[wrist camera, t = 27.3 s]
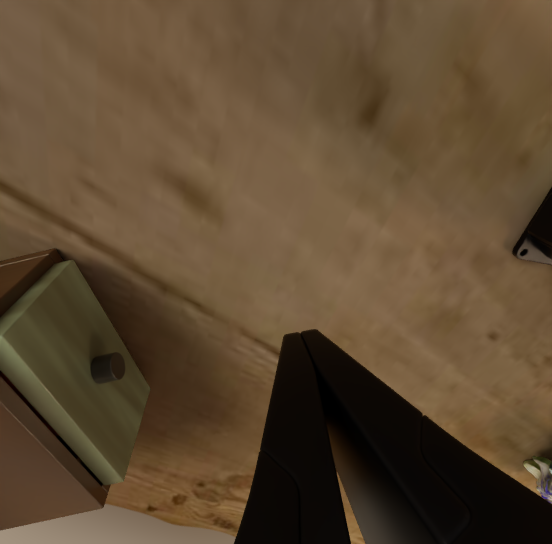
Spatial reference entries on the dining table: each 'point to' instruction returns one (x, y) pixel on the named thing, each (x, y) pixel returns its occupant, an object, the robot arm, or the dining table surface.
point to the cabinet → (36, 434)
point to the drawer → (75, 370)
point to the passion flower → (541, 475)
